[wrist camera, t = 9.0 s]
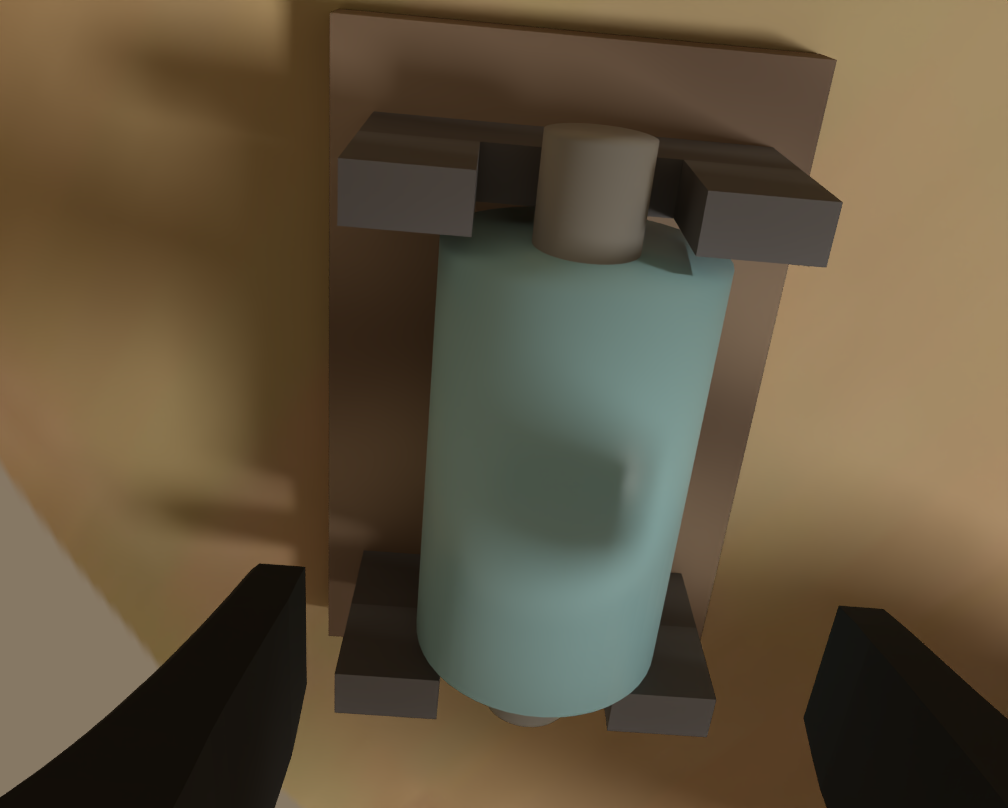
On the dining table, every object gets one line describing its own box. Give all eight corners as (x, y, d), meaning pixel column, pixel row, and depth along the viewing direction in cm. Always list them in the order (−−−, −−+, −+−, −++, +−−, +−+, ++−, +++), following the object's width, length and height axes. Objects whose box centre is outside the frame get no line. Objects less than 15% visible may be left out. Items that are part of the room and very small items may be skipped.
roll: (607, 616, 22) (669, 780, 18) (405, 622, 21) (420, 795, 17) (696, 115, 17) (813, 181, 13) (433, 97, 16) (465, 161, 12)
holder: (688, 633, 24) (730, 795, 19) (335, 608, 23) (294, 767, 19) (819, 54, 17) (927, 94, 13) (339, 8, 17) (278, 34, 13)
